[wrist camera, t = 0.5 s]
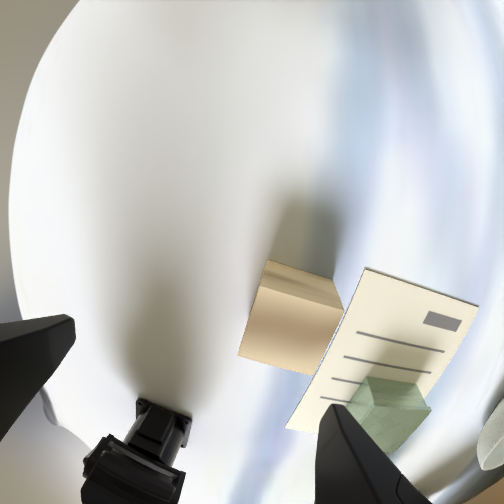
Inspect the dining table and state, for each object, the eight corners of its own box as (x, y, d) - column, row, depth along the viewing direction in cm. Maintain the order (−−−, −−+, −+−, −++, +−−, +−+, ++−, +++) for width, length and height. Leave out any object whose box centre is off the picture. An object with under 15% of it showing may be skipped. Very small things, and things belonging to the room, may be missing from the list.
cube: (309, 335, 21) (312, 375, 16) (248, 318, 21) (237, 355, 17) (332, 279, 20) (344, 310, 15) (267, 259, 20) (259, 285, 15)
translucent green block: (385, 424, 23) (393, 452, 19) (335, 418, 23) (338, 449, 19) (418, 382, 21) (431, 410, 17) (365, 374, 21) (375, 406, 17)
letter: (388, 439, 24) (388, 440, 23) (284, 427, 24) (284, 428, 24) (478, 307, 18) (479, 308, 18) (364, 269, 19) (365, 269, 19)
